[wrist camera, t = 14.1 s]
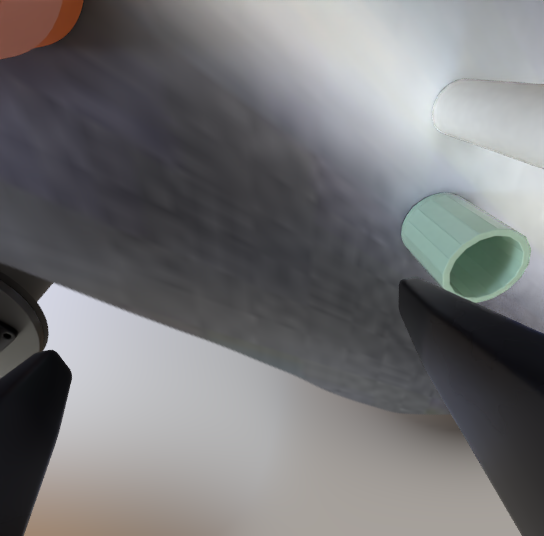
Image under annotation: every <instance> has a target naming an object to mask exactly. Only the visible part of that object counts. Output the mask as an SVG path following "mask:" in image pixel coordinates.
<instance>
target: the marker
mask: <svg viewBox="0 0 544 536" xmlns="http://www.w3.org/2000/svg"><path fill="white" fill-rule="evenodd" d="M432 120H433V123H434V126H435V127H436V129H437V130H438V131H440V132H441V133H443V134H446V135H449V136H452V137H454V138H457V139H460V140H463V141H466V142H469V143H471V144H474V145H477V146H480V147H483V148H486V149H488V150H491V151H494V152H497V153H500V154H503V155H506V156H508V157H511V158H514V159H517V160H520V161H523V162H525V163H528V164H531V165H534V166H537V167H540V168H542V169H544V84H530V83H517V82H503V81H489V80H475V79H460V80H456V81H454V82H452V83H450V84H449V85H448V86H446V87H445V88H444V89H443V90H442V91H441V92H440V94H439V95H438V97H437V98H436V100H435V103H434V106H433V110H432Z"/></svg>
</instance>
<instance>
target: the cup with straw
mask: <svg viewBox="0 0 544 536" xmlns="http://www.w3.org/2000/svg"><path fill="white" fill-rule="evenodd" d="M82 6H83V0H0V59H5V58H9V57H14V56H18V55H21V54H23V53H25V52H28V51H30V50H31V49H33V48H37V47H43V46H46V45H50V44H53V43H55V42H57V41H59V40H60V39H62V38H63V37H64V36H66V35H67V34H68V33H69V32H70V30H71V29H72V28H73V26H74V25H75V23H76V21H77V20H78V18H79V15H80V12H81V9H82Z"/></svg>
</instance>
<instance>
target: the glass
mask: <svg viewBox="0 0 544 536" xmlns="http://www.w3.org/2000/svg"><path fill="white" fill-rule="evenodd" d="M401 236H402V241H403V243H404V245H405V247H406V248H407V249H408V250H409V252H410V253H411V254H412V256H413V257H414V258H415V259H416V260H417V261H418V262H419V263H420V265H421V266H422V267H423V268H424V269H425V270H426V271H427V272H428V274H429V275H430V276H431V277H432V278H433V279H434V280H435V282H436V283H437V284H438V285H439V286H440V287H441V288H443V289H445V290H448V291H450V292H452V293H454V294H456V295H459V296H461V297H463V298H465V299H467V300H470V301H472V302H474V303H478V302H482V301H486V300H489V299H492V298H494V297H496V296H498V295H500V294H501V293H503V292H505V291H507V290H508V289H509V288H510V287H511V286H512V285H513V284H514V283H516V282H517V281H518V280H519V279H520V277H521V276H522V274H523V273H524V271H525V269H526V268H527V266H528V263H529V260H530V253H531V248H530V245H529V243H528V241H527V238H526V237H525V236H524V235H522V234H521V233H519V232H517V231H516V230H514V229H513V228H511V227H509V226H508V225H506V224H504V223H503V222H501V221H499V220H498V219H496V218H495V217H493V216H491V215H490V214H488V213H486V212H485V211H483V210H482V209H480V208H478V207H477V206H475V205H473V204H472V203H470V202H468V201H467V200H465V199H464V198H462V197H460V196H458V195H456V194H453V193H438V194H434V195H431V196H429V197H427V198H425V199H423V200H422V201H420V202H419V203H417V204H416V205H415V206H414V207H413V208H412V209H411V210H410V212H409V213H408V214H407V216H406V218H405V220H404V222H403V225H402V231H401Z"/></svg>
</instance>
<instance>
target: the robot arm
mask: <svg viewBox="0 0 544 536" xmlns="http://www.w3.org/2000/svg"><path fill="white" fill-rule="evenodd" d="M399 311H400V314H401V316H402V319H403V321H404V323H405V326H406V328H407V330H408V332H409V335H410V337H411V339H412V342H413V344H414V346H415V349H416V351H417V353H418V355H419V358H420V360H421V362H422V364H423V366H424V368H425V370H426V372H427V374H428V375H429V377H430V379H431V381H432V382H433V384H434V386H435V387H436V389H437V391H438V393H439V394H440V396H441V398H442V399H443V401H444V403H445V405H446V406H447V408H448V410H449V411H450V413H451V415H452V416H453V418H454V420H455V422H456V423H457V425H458V427H459V429H460V430H461V432H462V433H463V435H464V437H465V439H466V440H467V442H468V444H469V446H470V447H471V449H472V451H473V453H474V454H475V456H476V458H477V459H478V461H479V463H480V464H481V466H482V468H483V469H484V471H485V473H486V475H487V476H488V478H489V480H490V482H491V483H492V485H493V487H494V489H495V490H496V492H497V493H498V495H499V497H500V499H501V501H502V502H503V504H504V506H505V507H506V509H507V511H508V512H509V514H510V516H511V518H512V519H513V521H514V523H515V525H516V526H517V528H518V530H519V531H520V533H521V535H522V536H544V334H543V333H541V332H539V331H536V330H534V329H532V328H530V327H527V326H525V325H523V324H521V323H519V322H516V321H514V320H512V319H510V318H507V317H505V316H503V315H501V314H499V313H496V312H494V311H492V310H490V309H487V308H485V307H483V306H481V305H479V304H476V303H474V302H472V301H470V300H467V299H465V298H463V297H461V296H459V295H456V294H454V293H452V292H450V291H448V290H445V289H443V288H441V287H439V286H436V285H434V284H432V283H430V282H428V281H425V280H423V279H421V278H418V277H413V278H408V279H403V280H401V281H400V283H399ZM17 336H18V331H17V330H16V329H15V328H13V327H11V326H9V325H8V324H6V323H4V322H2V321H1V320H0V352H1V351H3V350H4V349H5V348H6V347H7V346H8V345H9V344H10V343H11V342H12V341H14V340H15V338H16V337H17ZM71 380H72V374H71V371H70V369H69V368H68V366H67V365H66V364H65V362H64V361H63V360H62V358H61V357H60V356H59V355H58V353H57V352H55V351H54V350H48V351H42V352H38V353H35V354H33V355H32V356H31V357H29V358H28V359H26V360H25V361H24V362H22V363H21V364H20V365H18V366H17V367H15V368H14V369H13V370H11V371H10V372H9V373H7V374H6V375H5V376H3V377H2V378H0V536H24V533H25V530H26V527H27V524H28V521H29V519H30V516H31V513H32V510H33V507H34V504H35V501H36V498H37V496H38V492H39V490H40V487H41V484H42V481H43V478H44V475H45V472H46V470H47V466H48V464H49V461H50V458H51V455H52V452H53V449H54V446H55V443H56V440H57V437H58V434H59V429H60V426H61V422H62V417H63V414H64V409H65V405H66V401H67V397H68V393H69V388H70V384H71Z"/></svg>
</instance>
